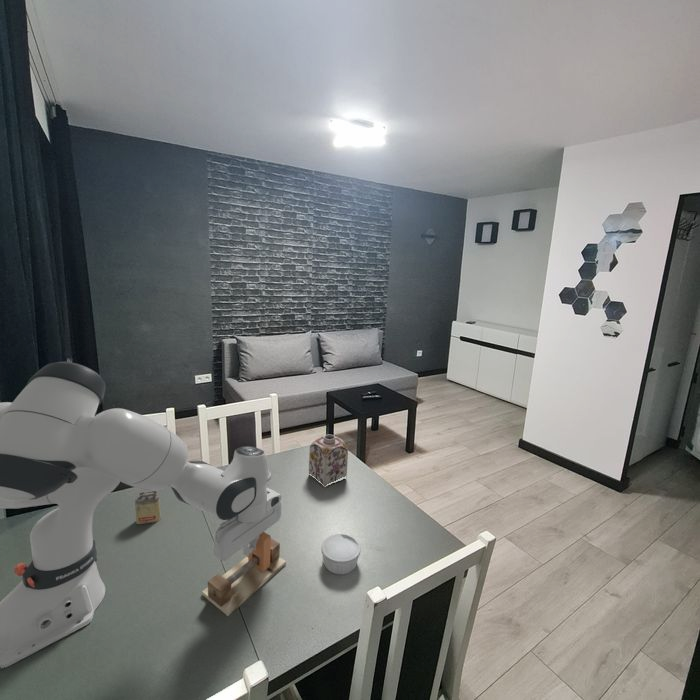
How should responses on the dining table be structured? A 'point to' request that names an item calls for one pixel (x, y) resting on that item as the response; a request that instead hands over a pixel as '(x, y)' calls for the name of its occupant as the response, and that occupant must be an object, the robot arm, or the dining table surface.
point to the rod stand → (241, 581)
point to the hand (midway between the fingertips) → (249, 552)
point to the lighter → (147, 508)
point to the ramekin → (340, 553)
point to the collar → (262, 552)
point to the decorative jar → (328, 459)
